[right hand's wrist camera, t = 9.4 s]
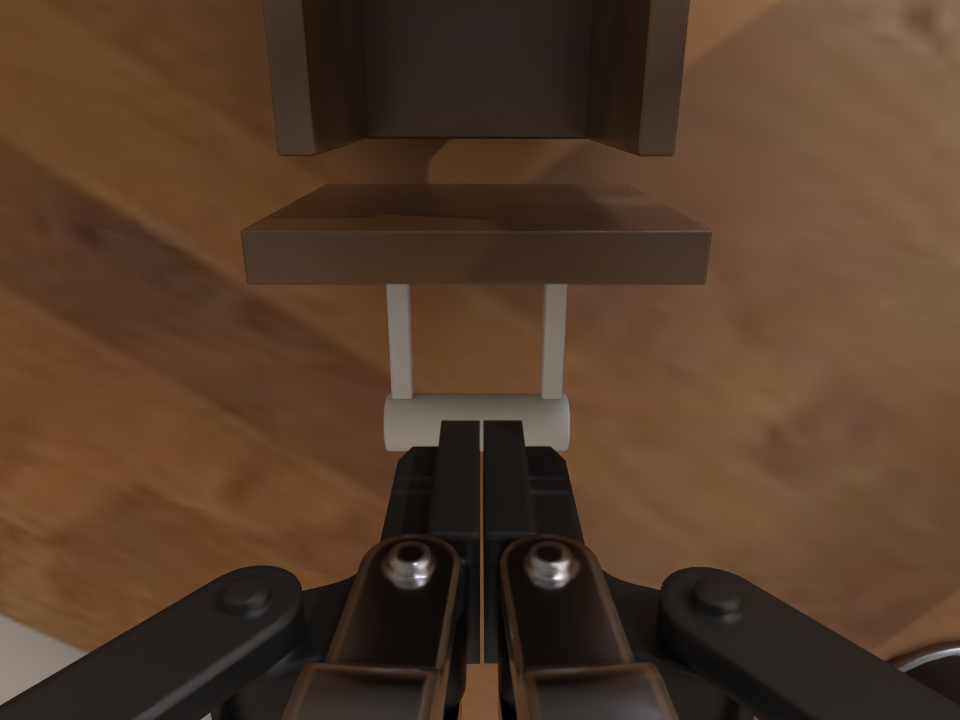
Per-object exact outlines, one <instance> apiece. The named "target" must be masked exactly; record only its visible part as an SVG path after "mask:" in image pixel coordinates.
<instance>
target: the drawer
mask: <svg viewBox="0 0 960 720" xmlns="http://www.w3.org/2000/svg"><path fill="white" fill-rule="evenodd" d="M262 1H263V11H264V21H265V31H266V40H267V50H268V60H269V70H270V80H271V90H272V99H273V109H274V119H275V129H276V139H277V149H278V153H279V155H281V156H314V155H317V154H321V153H324V152H327V151H330V150H333V149H336V148H339V147H342V146H345V145H348V144H351V143H354V142H358V141H361V140H364V139H590V140H593V141H596V142H599V143H602V144H605V145H608V146H611V147H614V148H617V149H620V150H623V151H626V152H629V153H632V154H635V155H638V156H672V155H673V154H674V152H675V144H676V134H677V124H678V114H679V104H680V94H681V84H682V74H683V64H684V55H685V45H686V35H687V25H688V15H689V5H690V0H262ZM711 236H712V232H711V230H709V229H707V228H705V227H704V226H702V225H700V224H698V223H696V222H694V221H693V220H691V219H689V218H687V217H685V216H684V215H682V214H680V213H678V212H676V211H675V210H673V209H671V208H669V207H667V206H665V205H664V204H662V203H660V202H658V201H656V200H655V199H653V198H651V197H649V196H647V195H646V194H644V193H642V192H640V191H638V190H636V189H635V188H633V187H631V186H629V185H627V184H326V185H324V186H322V187H321V188H319V189H317V190H315V191H313V192H311V193H310V194H308V195H306V196H304V197H302V198H300V199H298V200H297V201H295V202H293V203H291V204H289V205H287V206H285V207H284V208H282V209H280V210H278V211H276V212H274V213H272V214H271V215H269V216H267V217H265V218H263V219H261V220H259V221H258V222H256V223H254V224H252V225H250V226H248V227H246V228H245V229H243V230H241V239H242V247H243V255H244V263H245V271H246V279H247V283H248V284H386V293H387V313H388V333H389V353H390V373H391V393H390V394H388V395H387V397H386V400H385V407H384V442H385V447H386V449H387V451H409V450H410V449H411V448H412V447H413V446H438V445H439V436H440V428H441V421H442V420H480V451H483V420H522V424H523V432H524V440H525V446H551V447H552V448H553V449H554V450H555V451H566V450H567V449H568V446H569V439H570V410H569V402H568V398H567V395H566V394H562V388H563V367H564V347H565V327H566V306H567V286H568V285H703V284H705V282H706V276H707V268H708V260H709V252H710V244H711ZM410 284H544V290H543V318H542V345H541V373H540V394H444V393H414V378H413V351H412V324H411V297H410Z"/></svg>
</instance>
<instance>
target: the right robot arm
mask: <svg viewBox="0 0 960 720" xmlns="http://www.w3.org/2000/svg"><path fill="white" fill-rule="evenodd" d="M483 557H484V663H498V715H499V720H753V717H754V716H756V717H757V718H758V719H760V720H960V640H959V641H949V642H943V643H938V644H934V645H930V646H927V647H923V648H920V649H917V650H915V651H912V652H910V653H908V654H905V655H903V656H901V657H899V658H898V659H896V660H894V661H892V662H891V663H889V664H888V663H887V662H885V661H883V660H882V659H880V658H878V657H876V656H875V655H873V654H871V653H870V652H868V651H866V650H864V649H863V648H861V647H859V646H858V645H856V644H854V643H853V642H851V641H849V640H847V639H846V638H844V637H842V636H841V635H839V634H837V633H836V632H834V631H832V630H830V629H829V628H827V627H825V626H824V625H822V624H820V623H818V622H817V621H815V620H813V619H812V618H810V617H808V616H807V615H805V614H803V613H801V612H800V611H798V610H796V609H795V608H793V607H791V606H790V605H788V604H786V603H784V602H783V601H781V600H779V599H778V598H776V597H774V596H772V595H771V594H769V593H767V592H766V591H764V590H762V589H761V588H759V587H757V586H755V585H754V584H752V583H750V582H749V581H747V580H745V579H743V578H741V577H739V576H737V575H735V574H732V573H730V572H727V571H723V570H720V569H715V568H708V567H691V568H685V569H682V570H679V571H676V572H674V573H672V574H671V575H670V576H668V577H667V578H666V579H665V581H664V582H663V584H662V587H661V590H657V589H653V588H648V587H644V586H640V585H635V584H632V583H628V582H625V581H622V580H620V579H617V578H615V577H613V576H611V575H609V574H608V573H606V572H605V571H603V570H602V569H601V566H600V564H599V561H598V559H597V557H596V556H595V554H594V553H593V552H592V551H591V550H590V549H589V548H588V547H587V546H585V544H584V539H583V535H582V531H581V526H580V522H579V518H578V513H577V509H576V505H575V500H574V496H573V495H572V487H571V483H570V481H569V474H568V470H567V466H566V461H565V460H564V459H563V458H562V457H561V456H560V455H559V454H558V453H557V452H556V451H555V450H554V449H553V448H552V447H551V446H525V440H524V432H523V424H522V420H483ZM467 664H480V420H442V421H441V428H440V436H439V445H438V446H413V447H412V448H411V449H410V450H409V451H408V452H407V453H406V454H405V455H404V456H403V457H402V458H401V459H400V460H399V461H398V464H397V468H396V473H395V477H394V482H393V487H392V491H391V496H390V500H389V505H388V509H387V514H386V518H385V523H384V527H383V532H382V536H381V541H380V542H379V543H378V544H376V545H375V546H373V547H372V548H371V549H370V550H369V551H368V552H367V553H366V554H365V556H364V557H363V559H362V561H361V564H360V566H359V569H358V572H357V574H356V575H354V576H352V577H350V578H348V579H345V580H343V581H340V582H337V583H334V584H330V585H326V586H322V587H318V588H313V589H309V590H305V591H302V587H301V584H300V582H299V580H298V579H297V578H296V576H294V575H293V574H292V573H291V572H289V571H287V570H285V569H282V568H279V567H274V566H251V567H245V568H241V569H237V570H234V571H231V572H229V573H226V574H224V575H222V576H220V577H218V578H216V579H215V580H213V581H211V582H210V583H208V584H206V585H205V586H203V587H201V588H199V589H198V590H196V591H194V592H193V593H191V594H189V595H188V596H186V597H184V598H182V599H181V600H179V601H177V602H176V603H174V604H172V605H170V606H169V607H167V608H165V609H164V610H162V611H160V612H159V613H157V614H155V615H153V616H152V617H150V618H148V619H147V620H145V621H143V622H142V623H140V624H138V625H136V626H135V627H133V628H131V629H130V630H128V631H126V632H125V633H123V634H121V635H119V636H118V637H116V638H114V639H113V640H111V641H109V642H107V643H106V644H104V645H102V646H101V647H99V648H97V649H96V650H94V651H92V652H90V653H89V654H87V655H85V656H84V657H82V658H80V659H79V660H77V661H75V662H73V663H72V664H70V665H68V666H67V667H65V668H63V669H61V670H60V671H58V672H56V673H55V674H53V675H51V676H50V677H48V678H46V679H44V680H43V681H41V682H39V683H38V684H36V685H34V686H33V687H31V688H29V689H27V690H26V691H24V692H22V693H21V694H19V695H17V696H16V697H14V698H12V699H10V700H9V701H7V702H5V703H4V704H2V705H0V720H200V719H202V718H203V717H205V716H206V715H207V714H209V713H210V712H211V717H212V720H461V715H462V697H463V694H464V691H465V687H466V667H467Z"/></svg>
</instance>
